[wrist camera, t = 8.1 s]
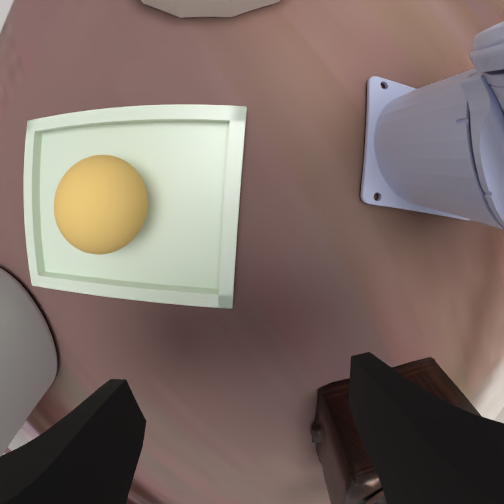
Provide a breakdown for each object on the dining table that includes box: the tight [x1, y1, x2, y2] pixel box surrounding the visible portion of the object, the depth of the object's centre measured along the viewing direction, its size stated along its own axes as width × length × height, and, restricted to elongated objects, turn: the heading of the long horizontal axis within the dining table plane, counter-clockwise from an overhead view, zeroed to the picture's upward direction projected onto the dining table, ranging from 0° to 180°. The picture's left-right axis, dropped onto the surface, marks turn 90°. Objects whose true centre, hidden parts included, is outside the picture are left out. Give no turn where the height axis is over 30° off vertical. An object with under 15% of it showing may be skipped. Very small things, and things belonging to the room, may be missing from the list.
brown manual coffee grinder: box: [311, 358, 482, 504], centre depth 14 cm, size 16×11×18 cm
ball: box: [54, 155, 148, 255], centre depth 13 cm, size 5×5×5 cm
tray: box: [24, 105, 247, 309], centre depth 16 cm, size 14×11×2 cm
